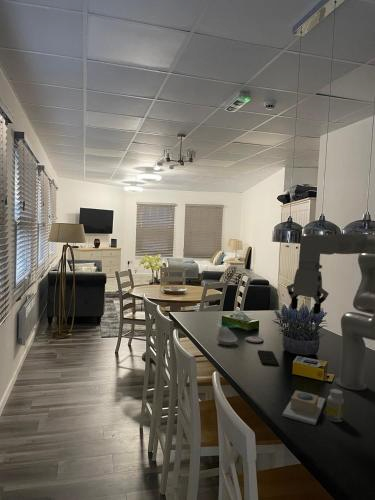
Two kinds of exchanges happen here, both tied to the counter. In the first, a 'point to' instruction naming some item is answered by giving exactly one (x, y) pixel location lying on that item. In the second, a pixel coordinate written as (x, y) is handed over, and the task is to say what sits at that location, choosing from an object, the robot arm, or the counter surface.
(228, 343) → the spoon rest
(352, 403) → the counter surface
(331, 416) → the supplement bottle
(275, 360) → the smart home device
